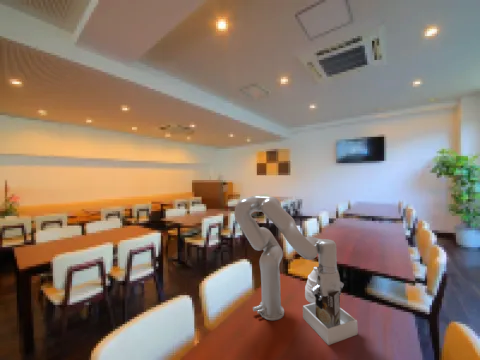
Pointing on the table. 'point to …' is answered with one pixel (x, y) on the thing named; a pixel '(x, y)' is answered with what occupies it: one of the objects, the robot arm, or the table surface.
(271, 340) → the table surface
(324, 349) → the table surface
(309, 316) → the bin
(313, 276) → the honey pot
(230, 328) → the table surface
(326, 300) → the coffee box
